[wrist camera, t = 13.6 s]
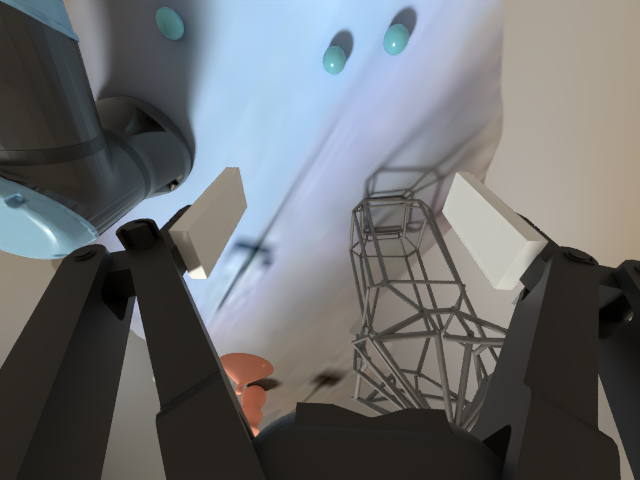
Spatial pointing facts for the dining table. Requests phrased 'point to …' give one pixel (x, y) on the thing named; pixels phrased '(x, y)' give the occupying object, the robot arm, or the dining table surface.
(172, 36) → the marble
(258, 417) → the ceramic vessels
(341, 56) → the marble
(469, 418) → the geometric lantern
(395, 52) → the marble
